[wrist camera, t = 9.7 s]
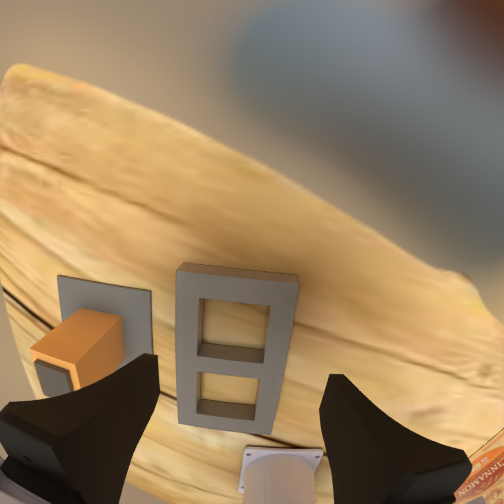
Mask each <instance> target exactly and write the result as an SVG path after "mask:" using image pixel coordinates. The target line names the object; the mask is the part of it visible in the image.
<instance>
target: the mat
mask: <svg viewBox="0 0 504 504" xmlns="http://www.w3.org/2000/svg"><path fill="white" fill-rule="evenodd" d="M57 282H58V292H59V300H60V308H61V315H62V322H63V321H65V320H66V319H67V318H69V317H70V316H71V315H72V314H74V313H75V312H76V311H78V310H79V309H80V308H86V309H91V310H95V311H100V312H105V313H110V314H115V315H120V316H122V323H123V335H124V345H125V355H126V358H125V359H124V360H123V362H122V363H121V365H120V366H119V367H118V369H120V368H121V367H123V366H125V365H126V364H128V363H129V362H131V361H132V360H134V359H135V358H137V357H138V356H140V355H142V354H143V353H147V354H152V355H153V340H152V313H151V291H149V290H142V289H136V288H130V287H123V286H117V285H111V284H105V283H100V282H94V281H88V280H83V279H77V278H72V277H67V276H62V275H58V276H57ZM118 369H117V370H118ZM117 370H116V371H117Z"/></svg>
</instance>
